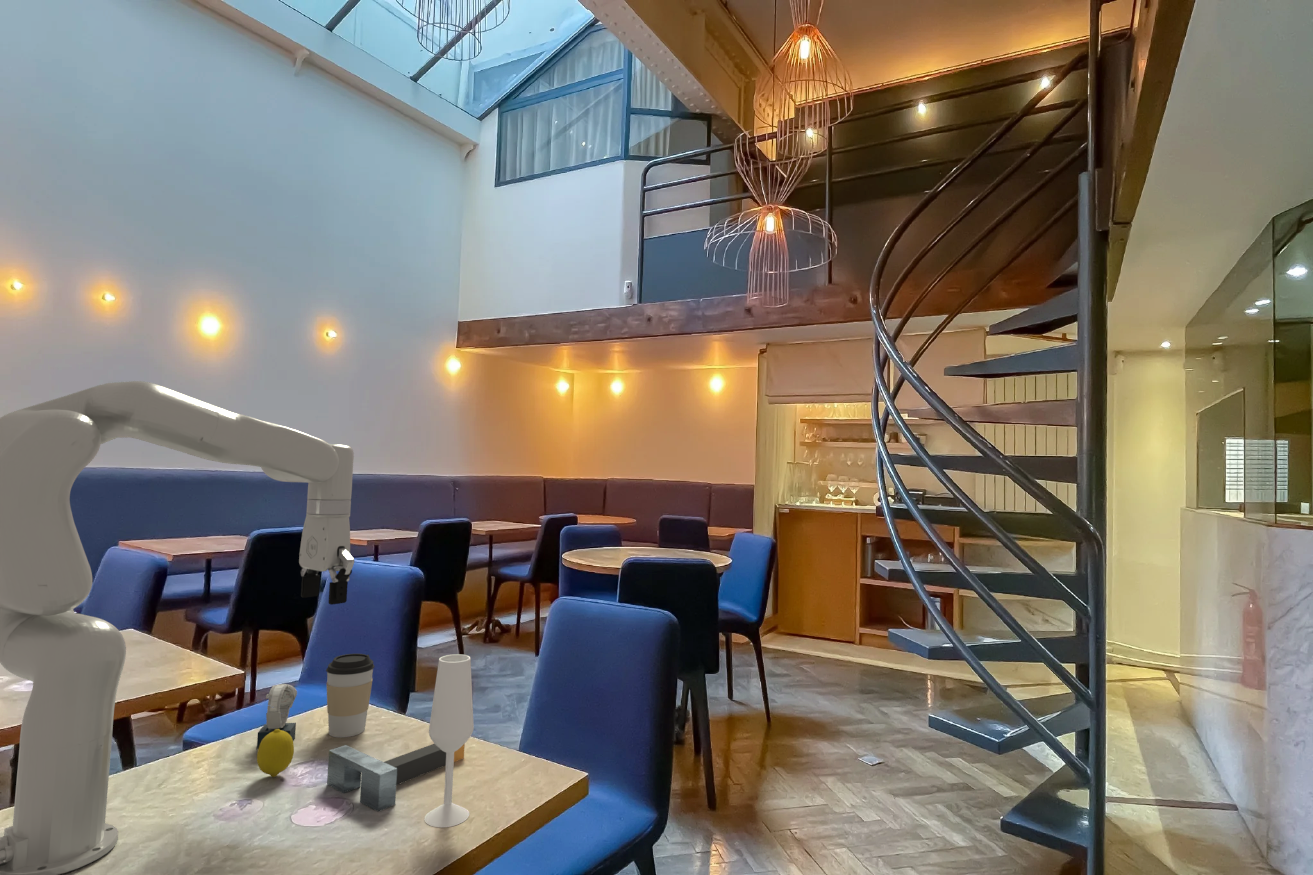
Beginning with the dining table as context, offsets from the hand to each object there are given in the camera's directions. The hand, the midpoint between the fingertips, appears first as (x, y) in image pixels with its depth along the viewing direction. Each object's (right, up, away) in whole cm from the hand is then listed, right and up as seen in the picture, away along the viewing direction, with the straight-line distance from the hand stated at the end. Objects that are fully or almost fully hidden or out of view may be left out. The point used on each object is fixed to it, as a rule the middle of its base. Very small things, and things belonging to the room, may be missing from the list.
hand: (323, 600), depth 126 cm
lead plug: (+21, -29, -7) cm, 36 cm away
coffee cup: (0, -29, +10) cm, 31 cm away
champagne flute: (+30, -28, -23) cm, 47 cm away
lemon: (-3, -28, -11) cm, 30 cm away
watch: (-10, -28, +2) cm, 30 cm away
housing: (+14, -28, -17) cm, 35 cm away
